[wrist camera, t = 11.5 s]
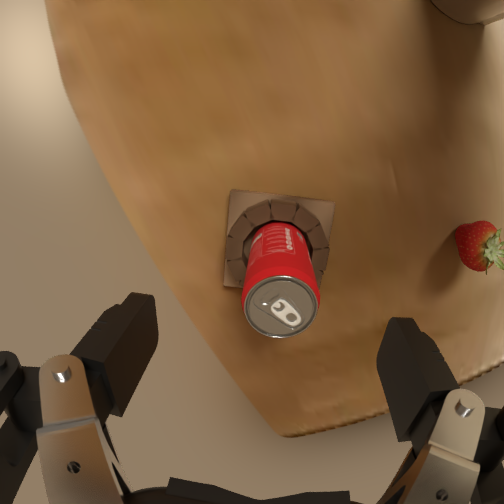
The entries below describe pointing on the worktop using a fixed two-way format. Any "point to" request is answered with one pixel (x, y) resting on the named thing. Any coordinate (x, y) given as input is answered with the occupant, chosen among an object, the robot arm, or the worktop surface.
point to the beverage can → (280, 282)
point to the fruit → (479, 245)
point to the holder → (270, 210)
